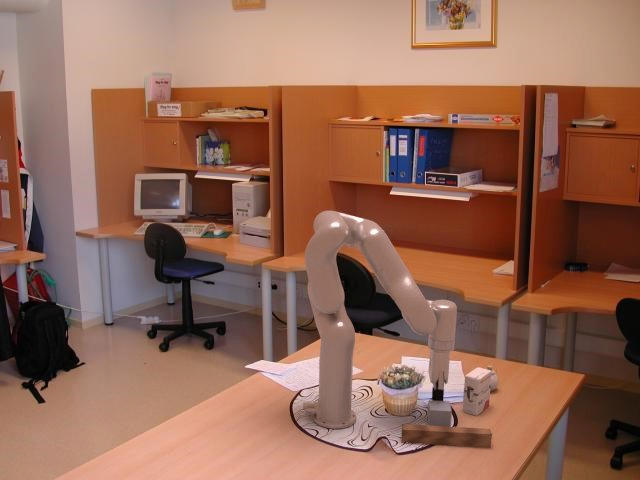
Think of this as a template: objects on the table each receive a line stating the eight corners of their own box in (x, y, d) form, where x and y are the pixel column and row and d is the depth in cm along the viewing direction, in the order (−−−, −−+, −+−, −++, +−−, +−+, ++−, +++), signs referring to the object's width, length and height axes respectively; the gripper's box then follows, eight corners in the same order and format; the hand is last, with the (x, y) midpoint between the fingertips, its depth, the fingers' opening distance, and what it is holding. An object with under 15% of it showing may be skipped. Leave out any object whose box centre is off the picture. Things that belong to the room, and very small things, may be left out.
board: (401, 442, 197) (402, 429, 196) (401, 437, 200) (402, 424, 199) (490, 447, 196) (491, 434, 195) (489, 441, 199) (490, 428, 198)
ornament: (490, 384, 234) (493, 355, 232) (504, 394, 228) (506, 364, 225) (474, 387, 232) (476, 358, 230) (487, 397, 225) (490, 367, 223)
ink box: (475, 401, 222) (477, 365, 220) (489, 406, 219) (492, 370, 217) (461, 411, 216) (464, 374, 213) (476, 416, 213) (479, 379, 210)
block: (428, 429, 205) (430, 410, 204) (427, 419, 211) (428, 400, 209) (450, 430, 205) (451, 411, 203) (448, 420, 211) (449, 401, 209)
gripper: (426, 332, 216) (422, 389, 221) (430, 352, 202) (426, 412, 206) (451, 333, 216) (447, 390, 220) (457, 353, 201) (453, 413, 206)
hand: (437, 400), depth 213 cm, fingers closed
